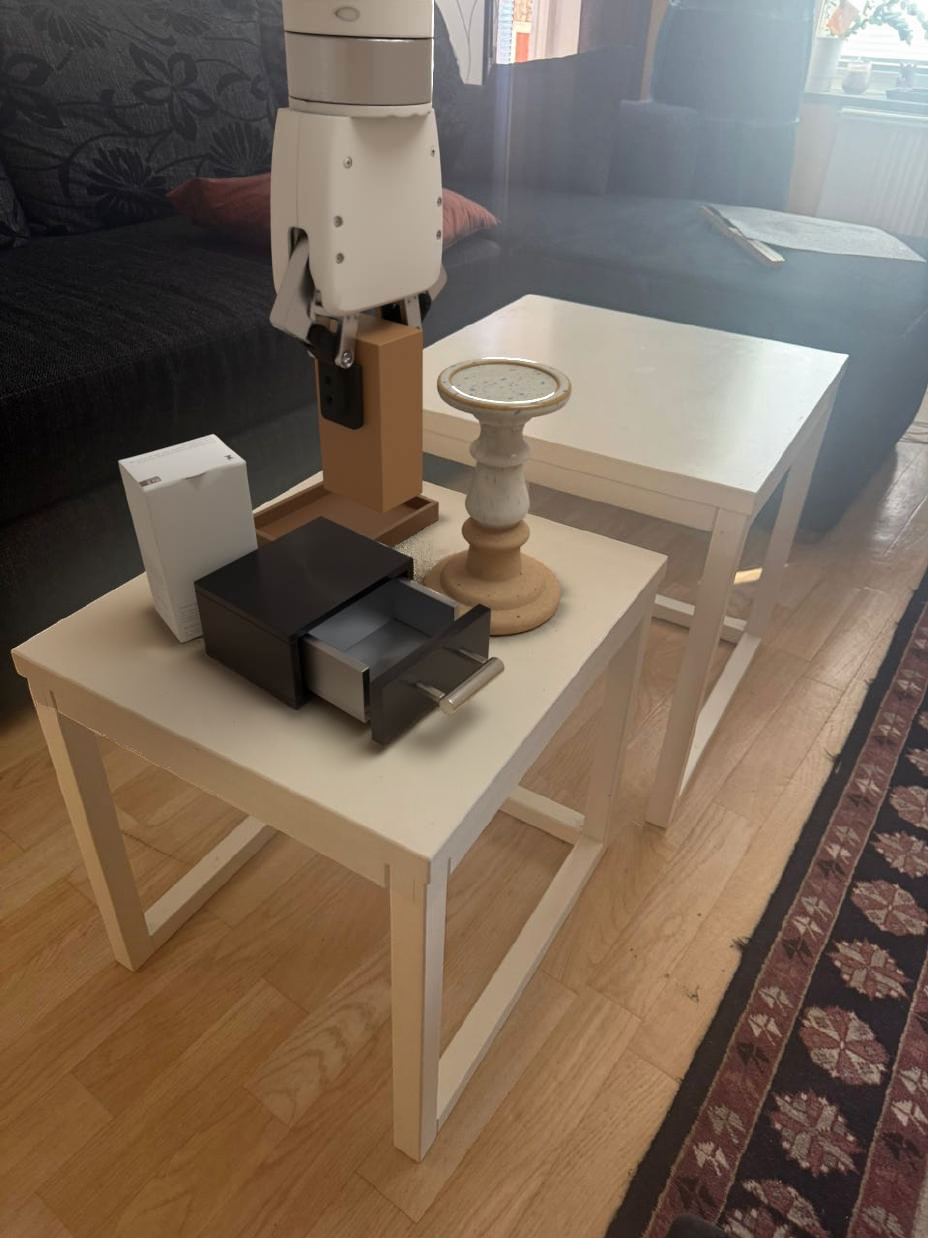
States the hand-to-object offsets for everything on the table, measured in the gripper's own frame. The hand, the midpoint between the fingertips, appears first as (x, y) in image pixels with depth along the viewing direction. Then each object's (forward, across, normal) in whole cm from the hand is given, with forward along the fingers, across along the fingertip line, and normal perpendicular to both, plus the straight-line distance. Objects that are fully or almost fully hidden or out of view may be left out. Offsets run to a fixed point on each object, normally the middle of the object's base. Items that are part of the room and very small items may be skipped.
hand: (368, 409), depth 56 cm
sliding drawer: (+21, 0, +3) cm, 22 cm away
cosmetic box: (+23, +3, -17) cm, 28 cm away
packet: (+6, 0, 0) cm, 6 cm away
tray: (+22, -15, -18) cm, 32 cm away
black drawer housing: (+22, 0, -7) cm, 24 cm away
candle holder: (+22, -15, 0) cm, 27 cm away
